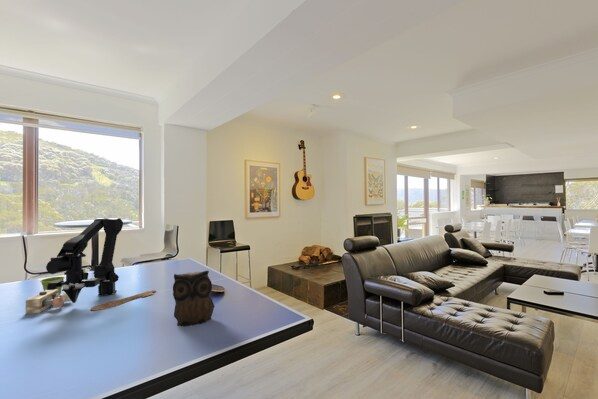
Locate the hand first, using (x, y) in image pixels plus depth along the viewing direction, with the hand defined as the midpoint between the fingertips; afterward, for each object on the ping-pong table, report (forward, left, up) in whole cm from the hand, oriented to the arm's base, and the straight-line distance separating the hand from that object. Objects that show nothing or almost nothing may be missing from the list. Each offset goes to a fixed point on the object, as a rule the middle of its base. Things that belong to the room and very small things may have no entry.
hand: (74, 302), depth 129 cm
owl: (-56, +28, -2) cm, 62 cm away
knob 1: (+8, 0, -1) cm, 8 cm away
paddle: (-20, -4, -3) cm, 21 cm away
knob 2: (+8, -7, -1) cm, 11 cm away
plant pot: (+19, -21, -2) cm, 29 cm away
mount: (+14, -4, -2) cm, 15 cm away
